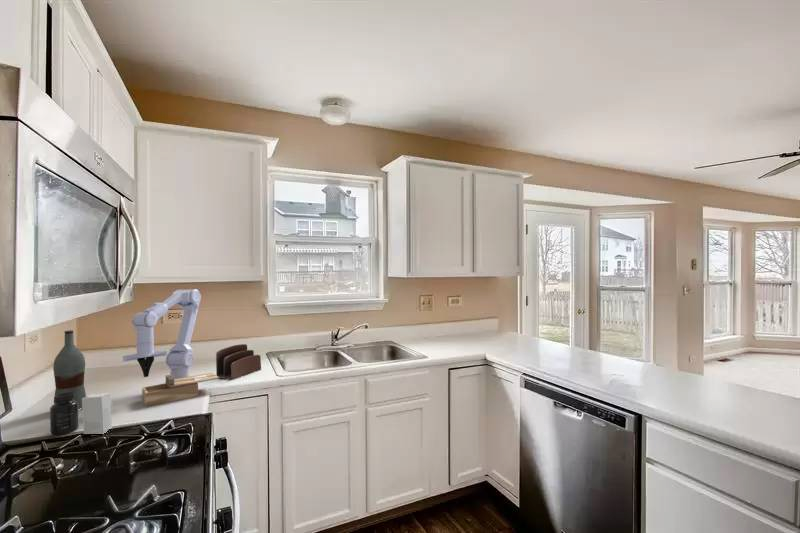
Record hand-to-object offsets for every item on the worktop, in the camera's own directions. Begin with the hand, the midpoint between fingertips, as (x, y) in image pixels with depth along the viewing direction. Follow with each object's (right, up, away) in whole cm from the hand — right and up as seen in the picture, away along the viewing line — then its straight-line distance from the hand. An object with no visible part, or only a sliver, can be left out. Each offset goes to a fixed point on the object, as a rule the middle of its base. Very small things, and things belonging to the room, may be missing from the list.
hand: (146, 376), depth 150 cm
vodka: (-24, -11, -7) cm, 27 cm away
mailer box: (+8, -10, +4) cm, 13 cm away
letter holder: (+21, -10, +38) cm, 45 cm away
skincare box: (+5, -9, -30) cm, 32 cm away
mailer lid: (+14, -4, +9) cm, 17 cm away
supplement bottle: (-7, -10, -28) cm, 31 cm away
